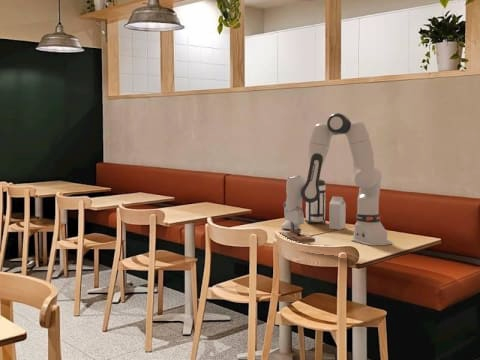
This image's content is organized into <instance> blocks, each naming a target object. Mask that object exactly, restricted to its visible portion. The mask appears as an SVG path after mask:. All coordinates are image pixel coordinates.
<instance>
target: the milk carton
mask: <svg viewBox="0 0 480 360" xmlns="http://www.w3.org/2000/svg"><path fill="white" fill-rule="evenodd" d="M328 205H329V206H328V207H329V208H328V209H329V210H328V212H329V214H328V219H329V221H328V223H329V224H328V225H329V226H328V228H329V229H330V230H331V229H332V230H343V229H346V217H347V216H346V212H347V211H346V208H347V207H346V206H347V204H346V202H345V199H344V197H343V196H342V197H341V196H335V195H334V196H331V200H330V202H329V203H328Z"/></svg>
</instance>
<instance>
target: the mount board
mask: <svg viewBox="0 0 480 360" xmlns="http://www.w3.org/2000/svg"><path fill="white" fill-rule="evenodd" d="M287 232H288V231H280V232H278V234H279V233H280V234H282V235H283V236H285V237H287V238H288V239H290V240H293V241H301V242H300V243H306V242H310V243H311V242H316V238H315V237H314V236H311V235H309V234H307V235H308V236H310V237H311V239H296V238H294V237H292V236H290V235H288V234H287ZM294 233H296V234H297V236H298V237H301V236H300V235H299V233H303V232H302V231H301V230H300V229H298V230H294ZM288 239H287V240H288ZM290 240H289V241H290Z"/></svg>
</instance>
